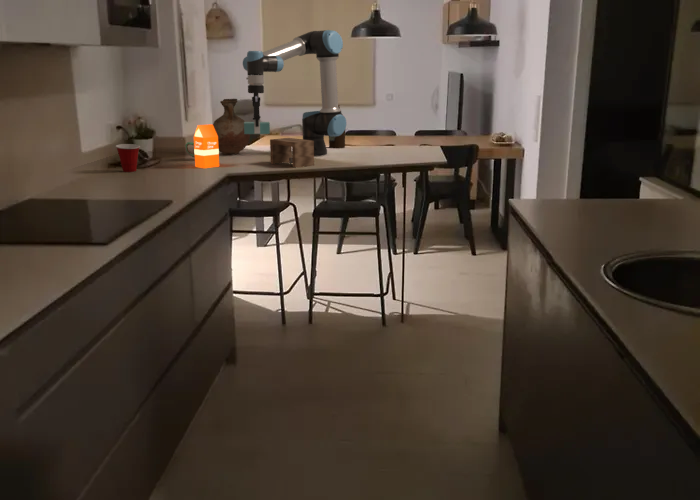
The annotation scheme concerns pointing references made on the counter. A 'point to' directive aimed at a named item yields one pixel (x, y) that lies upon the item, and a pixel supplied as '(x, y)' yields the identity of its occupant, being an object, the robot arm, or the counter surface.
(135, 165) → the plastic cup
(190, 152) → the mug
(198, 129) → the orange juice
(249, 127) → the teal rectangular block
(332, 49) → the robot arm
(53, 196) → the counter surface
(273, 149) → the shelf
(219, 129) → the jug
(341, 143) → the olive oil
